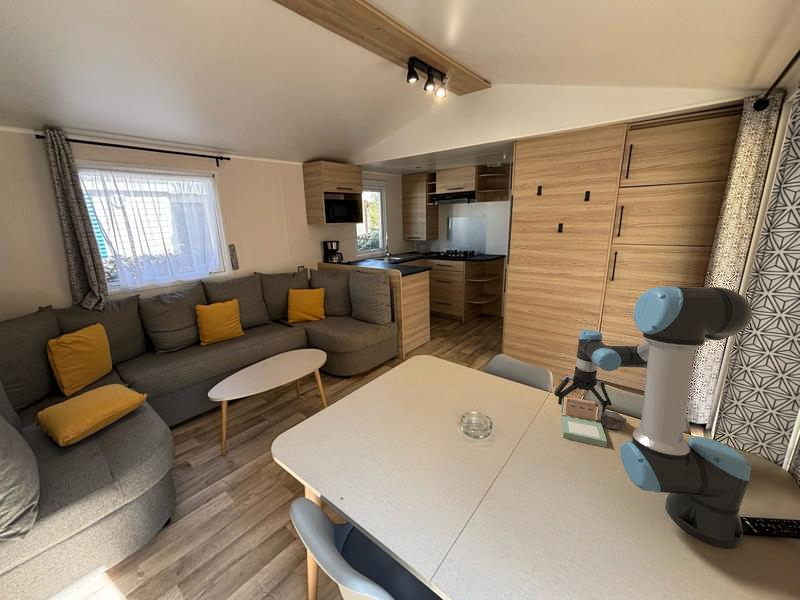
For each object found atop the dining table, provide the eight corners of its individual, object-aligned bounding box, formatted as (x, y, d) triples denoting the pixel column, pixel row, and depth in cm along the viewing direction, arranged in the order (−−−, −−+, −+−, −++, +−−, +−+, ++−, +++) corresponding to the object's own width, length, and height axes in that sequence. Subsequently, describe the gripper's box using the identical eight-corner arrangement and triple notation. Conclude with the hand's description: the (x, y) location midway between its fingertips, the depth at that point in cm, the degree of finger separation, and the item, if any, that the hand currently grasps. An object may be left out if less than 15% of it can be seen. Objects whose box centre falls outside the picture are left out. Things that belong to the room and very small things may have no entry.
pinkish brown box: (593, 425, 125) (596, 408, 123) (566, 420, 129) (568, 402, 127) (591, 418, 130) (594, 401, 128) (565, 413, 134) (567, 396, 132)
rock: (627, 423, 127) (628, 414, 126) (616, 434, 121) (617, 425, 120) (603, 413, 134) (604, 405, 133) (591, 422, 128) (592, 414, 127)
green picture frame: (606, 447, 114) (607, 441, 113) (563, 437, 119) (563, 431, 118) (599, 427, 124) (600, 422, 124) (560, 419, 130) (561, 414, 129)
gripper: (621, 368, 123) (613, 416, 128) (551, 359, 132) (546, 403, 137) (626, 377, 116) (617, 427, 121) (551, 366, 125) (546, 413, 131)
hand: (579, 414), depth 129 cm, fingers open, 13 cm apart
